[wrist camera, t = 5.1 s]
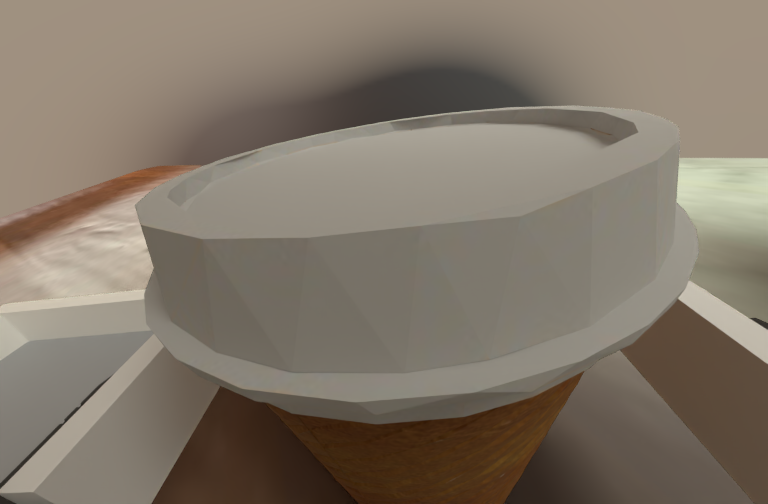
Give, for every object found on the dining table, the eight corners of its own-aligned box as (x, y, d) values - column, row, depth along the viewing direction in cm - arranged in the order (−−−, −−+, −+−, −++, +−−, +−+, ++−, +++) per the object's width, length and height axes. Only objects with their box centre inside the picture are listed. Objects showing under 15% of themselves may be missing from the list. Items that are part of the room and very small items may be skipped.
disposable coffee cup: (288, 665, 7) (-379, 392, 2) (326, 365, 16) (243, 144, 10) (640, 610, 7) (1324, 115, 2) (492, 339, 16) (508, 99, 10)
